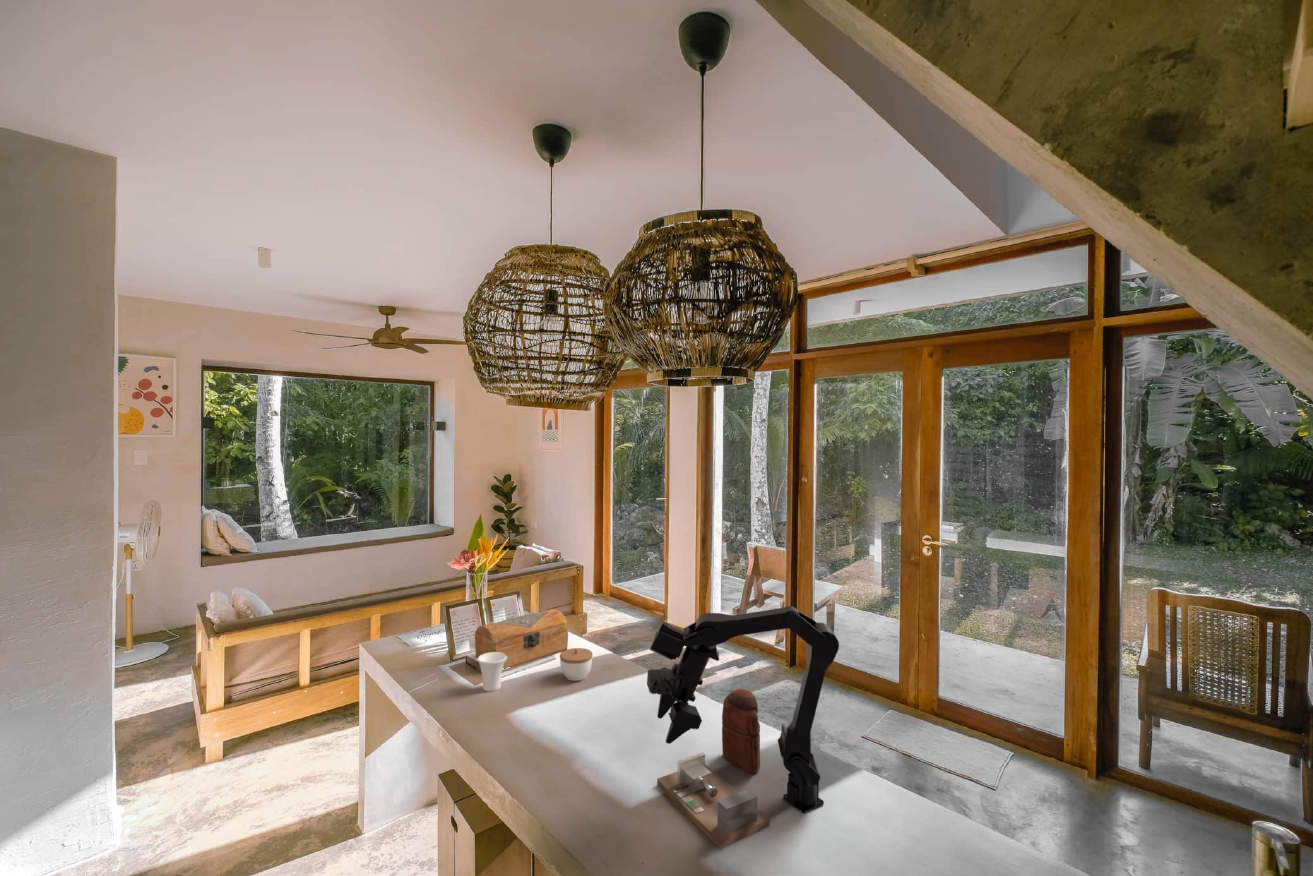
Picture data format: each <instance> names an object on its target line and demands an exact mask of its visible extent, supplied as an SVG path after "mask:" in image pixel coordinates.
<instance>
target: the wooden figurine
mask: <svg viewBox="0 0 1313 876" xmlns="http://www.w3.org/2000/svg"><path fill="white" fill-rule="evenodd" d="M722 705H723V706H722V713H721V715H722V716H721V725H722V726H721V742H722V743H721V745H722V746H721V747H722V757H723V758H724V759H725V760H726V761H727V762H729V763H731V764H732V765H734V766H736V767H738V768H740V769H742V770H743V771H745V772H747V773H749V774H757V773H759V770H760V769H761V735H760V732H761V724H760V722H759V717H758V713H759V712H758V711H759V708H758V702H757V697H756V695H755V694H754V693H753V692H751V691H750V690H747V689H744V688H737V689H735V690H733V691H731V692H730V693H728V695H727V696H725V698H724V700H723V703H722Z"/></svg>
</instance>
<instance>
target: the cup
mask: <svg viewBox="0 0 1313 876" xmlns="http://www.w3.org/2000/svg"><path fill="white" fill-rule="evenodd" d="M506 660H507V657H506V655H505V654H504V653H501V652H490V653H485V654H482V655H480V656H479V657H478V661H477V662H478V665H479V667H480V671H481V675H482V676H481V677H482V690H483V691H485V692H496V691H498V690H499V689H500V688H501V687H502V685H501V684H502V672H503V671H502V669H503V665H504V662H505V661H506Z"/></svg>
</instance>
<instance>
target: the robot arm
mask: <svg viewBox="0 0 1313 876" xmlns="http://www.w3.org/2000/svg"><path fill="white" fill-rule="evenodd" d="M786 629H787V630H788V629H789V630H791V631H792V632H794V634H795V635H797V636H798V637H800V639H801V640H803V641H804V642H805V643H806V646H805V647H806V648H805V649H806V664H805V667H804V672H803V677H802V680H801V685H800V688H799V692H798V697H797V700H796V704H795V708H794V713H793V716H792V721H791V722H790V723H789V725H788V726H786V725H784V724H782V725H781V728H780V729H781V732H780V736H779V737H778V739H777V743H778V749H779V753H780V757H781V759H782V762H783V766H784V768H785V770H787V771H788V778H787V779H788V780H787V782H786V789H787V790H786V793H784V794H783V796H782V798H783V799H784V800H785V801H786V802H788V803H789V804H791V805H792V806H793V807H794V808H795V809H797V810H798V811H799V812H801V813H804V814H806V813H807V812H809V811H811V810H814V809H816V808H818V807H821V806H823V805H824V804H825V801H824V800H823V799H822V798H820V795H819V793H820V792H819V790H820V789H819V787H820V783H819V782H820V780H821V775H820V772H819V769H818V765H817V762H816V758H815V755H814V753H812V745H811V744H812V743H811V740H812V739H811V738H812V737H811V733H812V729H813V725H814V720H815V715H816V711H817V709H818V704H819V699H820V696H821V691H822V687H823V684H824V680H825V675H826V673H827V670H828V669H829V668H830V667H831V665H833V663H834V660H835V658H836V656H837V654H838V652H839V649H840V648H839V647H840V643H839V642H840V641H839V639H838V638H837V636H836V635H835V633H834V631H833V629H832V628H831V626H829V625H828V624H826V623H824V622H817V621H816V620H814V619H813V618H812V617H811V616H808V615H806V614H804V613H803V612H801V611H799V610H798V609H797V608H795V606H793V605H785V606H784V607H780V608H774V609H772V608H771V609H766V610H760V611H754V612H747V613H741V614H727V613H721V612H705V613H703V614H700V615H699V617H697V619H696V621H695V622H693V623H691V624H689V625H688V626H685V627H684V628H683V630H680V629H679V628H676V627H674V626H672V625H670V624H669V623H667V622H665V621H662V622H661V624H660V625H659V627H658V630H656V632H655V634H654V637H653V639H652V642H651V644H650V648H649V651H651V652H653V653H655V654H658V655H660V656H662V657H664V658H667V659H669V660H671V661H673V660H674V661H676V659H677V658H678V659H679V658H680V656H681V658H680V660H679V663H677V662H675V663H674V664H673V665H672V667H671V668H668V667H662V668H660V669H658V668H655V669H649V670H647V675H646V677H647V679H646V686H647V688H648V692H649V693H650V694H652V695H656V694H657V695H659V704H658V709H657V716H656V717H657V718H658V719H660V720H661V719H663V718H664V717H665V716H666V714H667V713H668V715H669V718H670V719H669V720H670V725H669V728H668V731H667V734H666V738H665V743H666V744H669V745H670V744H673V742H675V741H676V740H677V739H678V738H680V737H681V736H682V735H683V734H685V733H687V732H689V731H690V730H691V729H692V730H699V728H700V727H701V724H702V722H703V720H702V717H701V715H700V712H699V711H698V709H697V707H696V706H695V705H692V704H689V702H693V703H694V702H695V700H696V696H695V692H696V689H697V688H698V686H702V685H703V682H704V680H703V678H702V676H703V674H704V672H705V669H706V667H707V665H708V663H709V660H710V659H711V660H714V661H716V662H719V661H720V653H719V651H718V649H717V646H718V645H722V644H724V643H726V642H727V641H730V640H731V639H733V638H736V637H739V636H746V635H753V634H758V633H766V632H767V633H768V632H773V631H774V632H775V631H779V630H786ZM684 647H685V649H684ZM683 650H684V651H683ZM682 653H683V654H682ZM681 654H682V655H681Z"/></svg>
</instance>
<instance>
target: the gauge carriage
mask: <svg viewBox="0 0 1313 876" xmlns="http://www.w3.org/2000/svg"><path fill="white" fill-rule="evenodd" d="M705 764H706V753H704V752H700V753H697V754H696V753H695V754H694V755H691V756H688V757H685V758H682V759H679V760H677V772H678V783H679V784H683V783H684V784H685V785H684V786H681V787H679V788H675V790H676V791H679V790H681V789H684V788H687V787H688V788H689V789H690V790H691V791H692V792H693V793H694V792H697V791H699V790H702V789H706V790H707V791H708V792H709V795H710V796H711V797H715V796H716V795H717V789H716V788H715V787H711V786H712V772H710V771H709V770H708V769H707V768H706V767H705Z"/></svg>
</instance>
